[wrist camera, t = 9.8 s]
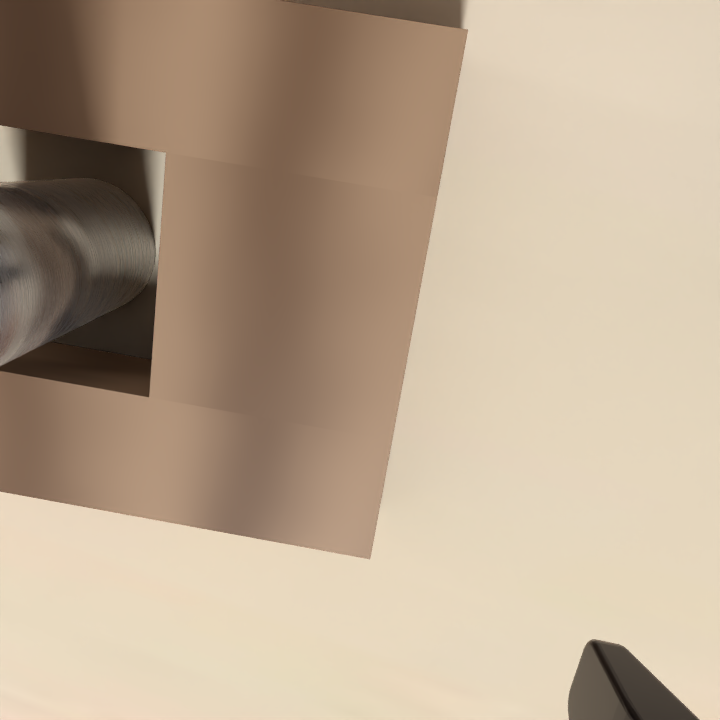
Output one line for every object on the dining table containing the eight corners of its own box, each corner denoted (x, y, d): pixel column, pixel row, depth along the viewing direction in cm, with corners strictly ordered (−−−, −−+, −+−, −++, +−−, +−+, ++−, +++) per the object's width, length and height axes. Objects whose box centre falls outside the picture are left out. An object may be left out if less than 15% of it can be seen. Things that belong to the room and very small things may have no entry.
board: (460, 49, 18) (467, 29, 15) (376, 507, 22) (370, 559, 20) (-251, -63, 19) (-370, -102, 16) (-206, 402, 23) (-295, 437, 20)
